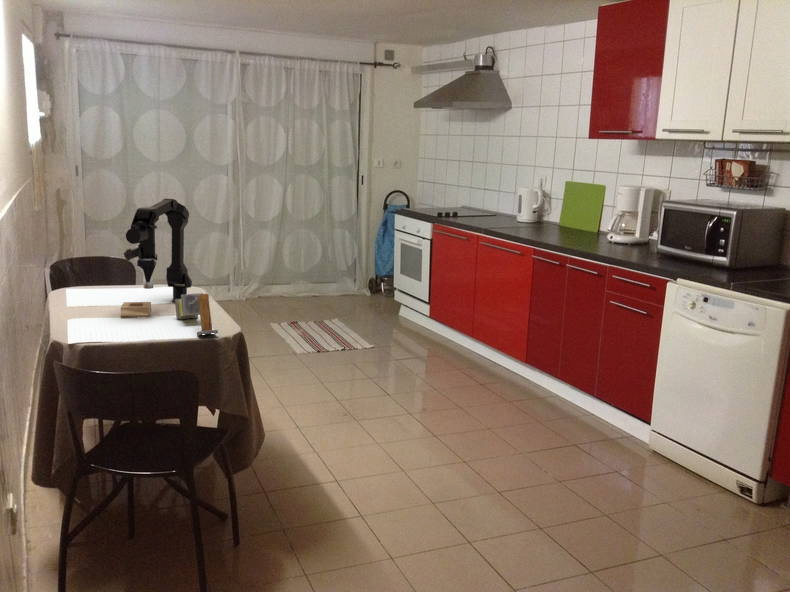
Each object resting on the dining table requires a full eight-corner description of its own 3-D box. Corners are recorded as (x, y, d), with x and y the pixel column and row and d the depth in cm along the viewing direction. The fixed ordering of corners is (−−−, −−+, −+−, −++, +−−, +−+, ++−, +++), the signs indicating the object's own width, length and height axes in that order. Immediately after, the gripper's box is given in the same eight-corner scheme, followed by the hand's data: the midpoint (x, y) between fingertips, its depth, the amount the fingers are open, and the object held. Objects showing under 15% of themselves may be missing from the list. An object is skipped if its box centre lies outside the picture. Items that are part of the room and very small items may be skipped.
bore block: (124, 312, 272) (123, 302, 271) (151, 311, 275) (150, 301, 274) (120, 318, 263) (120, 307, 262) (148, 317, 265) (148, 307, 264)
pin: (143, 287, 270) (143, 266, 269) (153, 287, 271) (153, 266, 270) (143, 288, 267) (142, 268, 265) (153, 288, 268) (152, 268, 266)
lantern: (179, 344, 263) (198, 334, 238) (174, 300, 265) (193, 285, 239) (199, 342, 267) (220, 332, 241) (195, 298, 269) (215, 284, 243)
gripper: (127, 238, 272) (128, 277, 275) (122, 243, 254) (123, 285, 257) (157, 238, 275) (157, 277, 278) (154, 244, 257) (155, 285, 260)
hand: (148, 281), depth 268 cm, fingers closed on pin, 4 cm apart
